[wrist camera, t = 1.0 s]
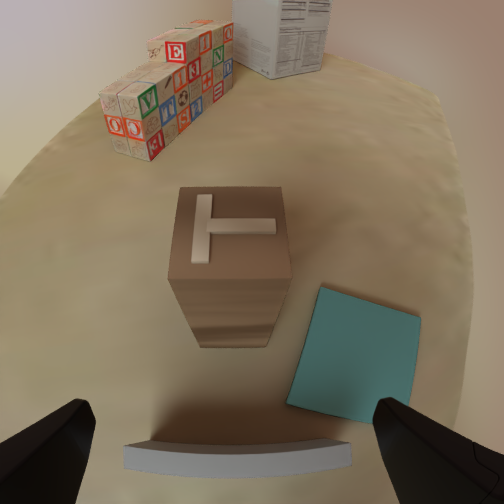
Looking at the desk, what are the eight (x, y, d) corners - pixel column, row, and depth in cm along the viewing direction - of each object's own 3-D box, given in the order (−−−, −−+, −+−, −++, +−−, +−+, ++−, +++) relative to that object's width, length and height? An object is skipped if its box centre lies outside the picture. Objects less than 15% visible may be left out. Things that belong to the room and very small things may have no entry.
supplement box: (322, 71, 49) (336, -6, 34) (270, 81, 45) (279, -11, 30) (279, 50, 55) (286, -18, 40) (229, 59, 50) (230, -18, 35)
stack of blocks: (151, 164, 32) (130, 71, 22) (115, 153, 34) (90, 70, 23) (233, 88, 43) (234, 20, 32) (200, 82, 44) (197, 18, 34)
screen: (325, 455, 18) (352, 465, 13) (149, 458, 17) (124, 468, 12) (324, 438, 18) (350, 442, 14) (149, 440, 18) (123, 445, 13)
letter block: (265, 347, 22) (292, 275, 12) (200, 347, 22) (166, 276, 11) (262, 288, 25) (281, 184, 14) (202, 289, 24) (179, 184, 14)
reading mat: (399, 427, 18) (403, 427, 18) (285, 403, 20) (286, 403, 19) (417, 320, 24) (421, 317, 23) (319, 289, 25) (320, 286, 24)
